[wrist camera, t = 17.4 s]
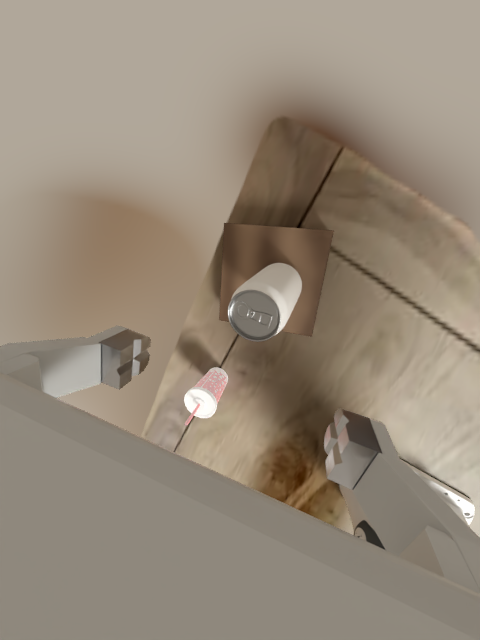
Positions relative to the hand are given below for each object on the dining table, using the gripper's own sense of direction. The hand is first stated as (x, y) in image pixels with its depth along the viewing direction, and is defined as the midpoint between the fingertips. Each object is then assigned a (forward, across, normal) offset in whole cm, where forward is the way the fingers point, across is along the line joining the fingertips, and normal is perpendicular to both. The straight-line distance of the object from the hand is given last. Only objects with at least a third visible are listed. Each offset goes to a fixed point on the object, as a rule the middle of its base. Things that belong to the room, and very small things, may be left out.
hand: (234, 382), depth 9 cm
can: (+25, +1, 0) cm, 25 cm away
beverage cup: (+31, +8, +24) cm, 40 cm away
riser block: (+32, +2, 0) cm, 32 cm away
